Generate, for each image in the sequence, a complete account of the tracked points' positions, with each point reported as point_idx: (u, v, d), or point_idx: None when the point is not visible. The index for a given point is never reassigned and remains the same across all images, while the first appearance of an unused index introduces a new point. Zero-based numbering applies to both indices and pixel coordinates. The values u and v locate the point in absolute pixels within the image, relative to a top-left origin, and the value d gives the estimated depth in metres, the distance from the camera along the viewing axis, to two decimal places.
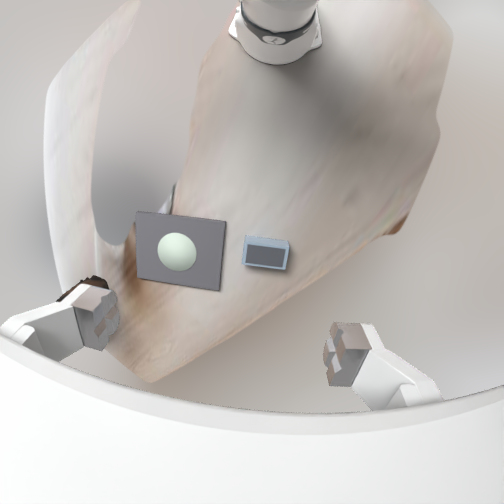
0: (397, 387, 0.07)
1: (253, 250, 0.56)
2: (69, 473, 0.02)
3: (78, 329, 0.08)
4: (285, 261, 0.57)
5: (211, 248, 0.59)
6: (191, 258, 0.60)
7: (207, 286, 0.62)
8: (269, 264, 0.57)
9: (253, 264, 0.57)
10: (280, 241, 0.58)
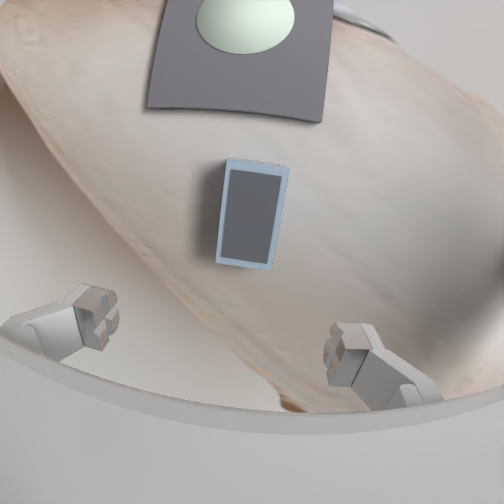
0: (397, 387, 0.07)
1: (265, 190, 0.22)
2: (69, 473, 0.02)
3: (78, 329, 0.08)
4: (236, 263, 0.25)
5: (257, 88, 0.21)
6: (229, 43, 0.19)
7: (157, 80, 0.21)
8: (228, 228, 0.23)
9: (226, 189, 0.22)
10: None
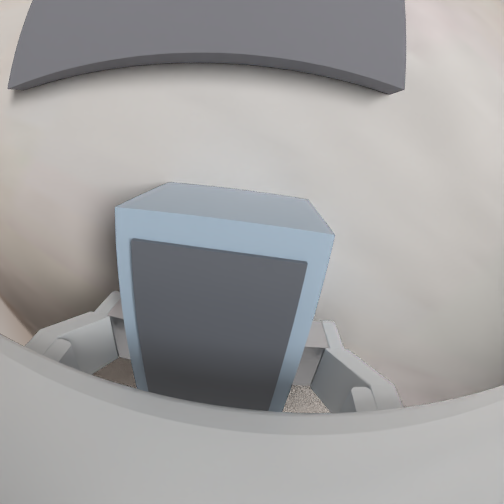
0: None
1: (248, 308, 0.06)
2: (69, 473, 0.02)
3: (113, 339, 0.08)
4: None
5: None
6: None
7: (27, 34, 0.06)
8: (155, 385, 0.08)
9: (129, 299, 0.07)
10: None
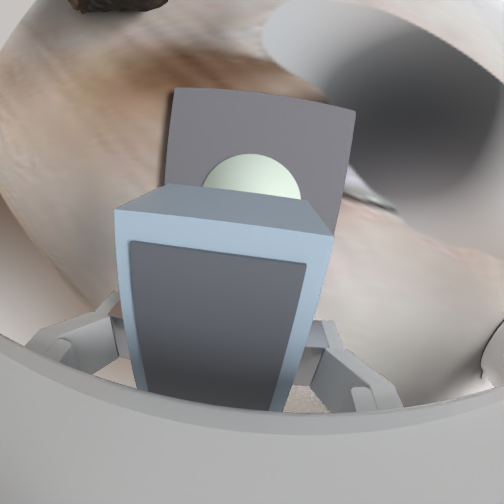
0: None
1: (248, 310, 0.06)
2: (69, 473, 0.02)
3: (114, 339, 0.08)
4: None
5: None
6: None
7: None
8: (155, 387, 0.08)
9: (129, 300, 0.07)
10: None
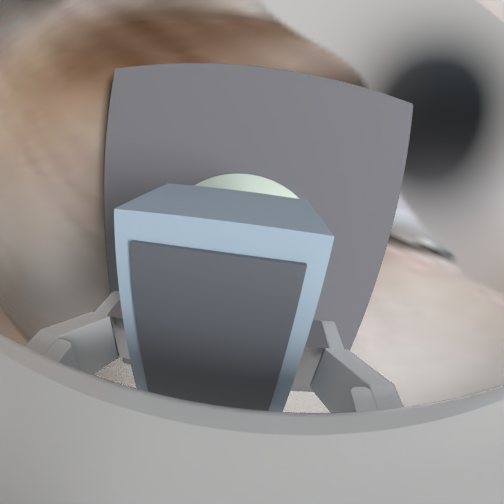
0: None
1: (248, 310, 0.06)
2: (69, 473, 0.02)
3: (114, 339, 0.08)
4: None
5: None
6: None
7: None
8: (155, 387, 0.08)
9: (128, 300, 0.07)
10: None
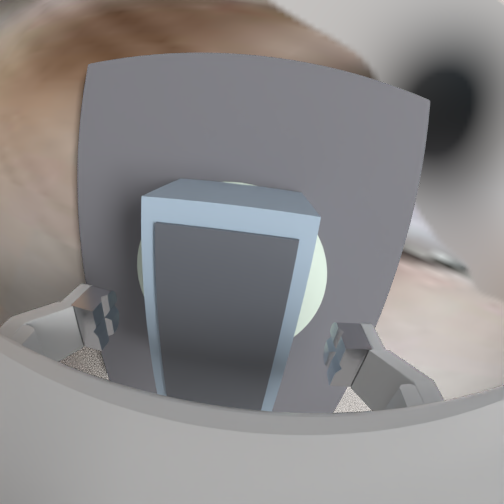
0: (397, 387, 0.07)
1: (251, 278, 0.08)
2: (69, 473, 0.02)
3: (78, 329, 0.08)
4: None
5: None
6: None
7: (111, 360, 0.15)
8: (169, 355, 0.09)
9: (150, 274, 0.08)
10: None
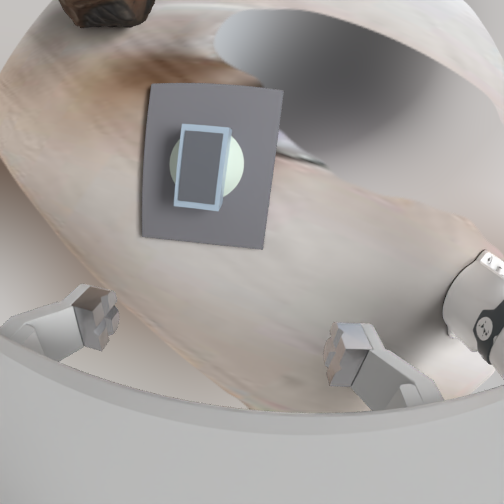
0: (397, 387, 0.07)
1: (210, 144, 0.27)
2: (69, 473, 0.02)
3: (78, 329, 0.08)
4: (190, 205, 0.29)
5: (217, 227, 0.35)
6: None
7: (146, 217, 0.34)
8: (182, 176, 0.28)
9: (181, 145, 0.27)
10: (223, 191, 0.32)
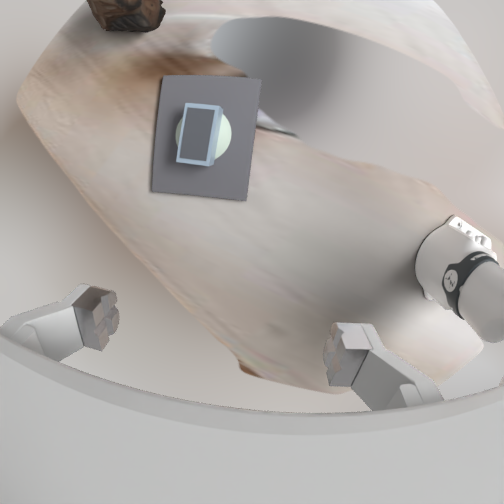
0: (397, 387, 0.07)
1: (205, 117, 0.35)
2: (69, 473, 0.02)
3: (78, 329, 0.08)
4: (188, 161, 0.38)
5: (210, 183, 0.43)
6: None
7: (156, 176, 0.43)
8: (184, 140, 0.37)
9: (184, 118, 0.36)
10: (214, 154, 0.40)
